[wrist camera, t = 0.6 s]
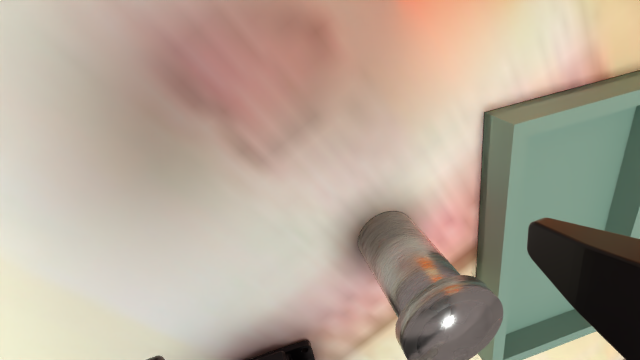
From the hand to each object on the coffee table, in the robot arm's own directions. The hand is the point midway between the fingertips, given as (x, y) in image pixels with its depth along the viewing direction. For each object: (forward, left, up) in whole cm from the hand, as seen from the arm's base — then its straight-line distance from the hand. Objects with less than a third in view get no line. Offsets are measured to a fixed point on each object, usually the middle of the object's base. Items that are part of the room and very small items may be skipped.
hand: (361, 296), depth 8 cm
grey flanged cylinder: (-9, -5, -12) cm, 16 cm away
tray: (-13, -18, -12) cm, 26 cm away
